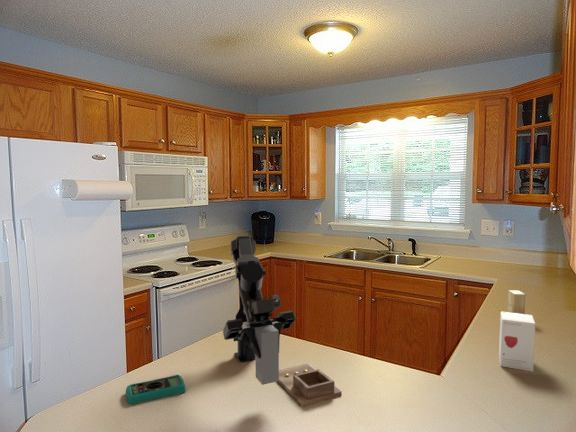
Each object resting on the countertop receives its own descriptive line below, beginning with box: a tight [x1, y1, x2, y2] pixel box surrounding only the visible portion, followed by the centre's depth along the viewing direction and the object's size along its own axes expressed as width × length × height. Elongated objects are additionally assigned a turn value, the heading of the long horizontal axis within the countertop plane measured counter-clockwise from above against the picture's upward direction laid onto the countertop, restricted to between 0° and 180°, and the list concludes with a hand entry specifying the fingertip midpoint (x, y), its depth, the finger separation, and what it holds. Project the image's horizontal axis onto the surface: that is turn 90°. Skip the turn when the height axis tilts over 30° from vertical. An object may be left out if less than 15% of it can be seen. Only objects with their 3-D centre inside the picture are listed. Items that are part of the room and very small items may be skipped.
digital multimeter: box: [125, 374, 186, 406], centre depth 109 cm, size 7×15×3 cm, turn 116°
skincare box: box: [507, 289, 527, 314], centre depth 165 cm, size 6×4×12 cm
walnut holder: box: [277, 363, 343, 407], centre depth 113 cm, size 19×12×4 cm, turn 26°
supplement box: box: [498, 311, 536, 373], centre depth 125 cm, size 9×9×15 cm
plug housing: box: [254, 325, 280, 385], centre depth 102 cm, size 4×4×13 cm
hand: (269, 355), depth 101 cm, fingers closed on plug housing, 4 cm apart
